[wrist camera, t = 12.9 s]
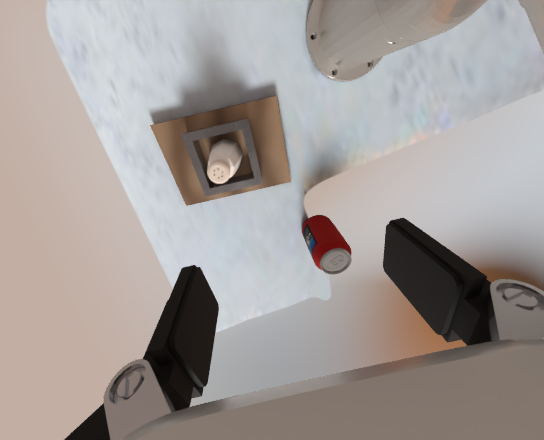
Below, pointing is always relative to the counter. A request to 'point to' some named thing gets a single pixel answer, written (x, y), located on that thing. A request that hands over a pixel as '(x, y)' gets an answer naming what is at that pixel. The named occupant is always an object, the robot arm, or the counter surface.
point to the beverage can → (326, 245)
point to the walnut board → (263, 132)
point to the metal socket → (201, 165)
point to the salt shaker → (223, 161)
